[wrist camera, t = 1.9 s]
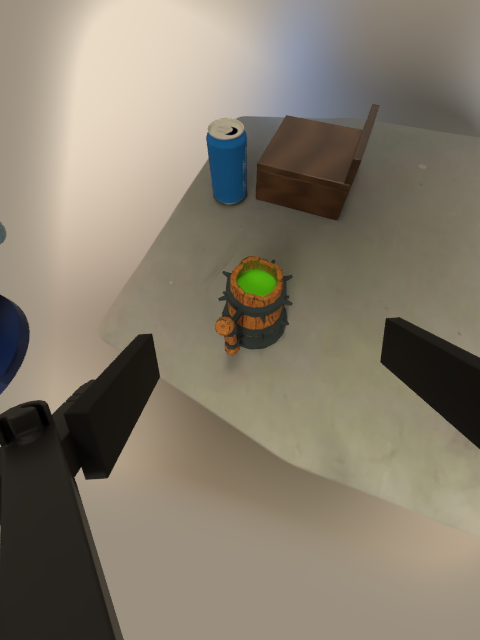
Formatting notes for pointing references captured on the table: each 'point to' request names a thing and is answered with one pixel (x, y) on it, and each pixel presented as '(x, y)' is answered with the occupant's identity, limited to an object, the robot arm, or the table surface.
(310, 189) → the brown wooden box
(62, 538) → the robot arm
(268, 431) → the table surface
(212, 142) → the beverage can
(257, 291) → the mug
